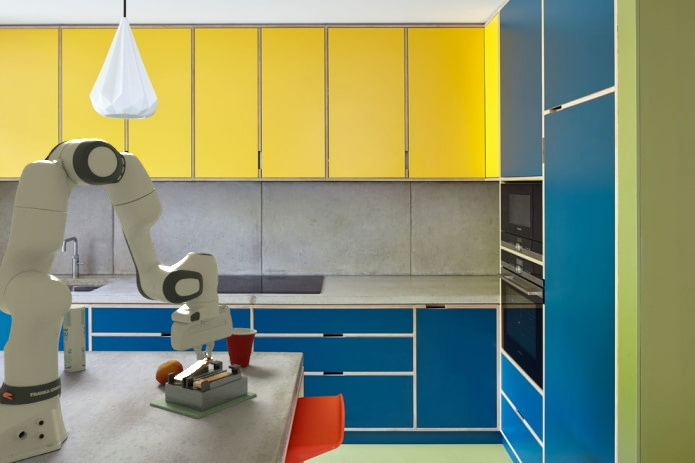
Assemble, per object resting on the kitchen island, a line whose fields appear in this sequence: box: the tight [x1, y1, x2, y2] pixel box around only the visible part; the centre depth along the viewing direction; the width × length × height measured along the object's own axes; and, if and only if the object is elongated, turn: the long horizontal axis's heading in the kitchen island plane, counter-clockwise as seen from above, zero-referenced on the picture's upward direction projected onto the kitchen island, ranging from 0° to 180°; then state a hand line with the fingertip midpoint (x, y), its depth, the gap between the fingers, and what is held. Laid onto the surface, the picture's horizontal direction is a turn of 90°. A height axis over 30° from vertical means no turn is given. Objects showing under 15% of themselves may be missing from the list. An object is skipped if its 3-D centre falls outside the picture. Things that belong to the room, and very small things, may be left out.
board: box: [149, 391, 257, 420], centre depth 176 cm, size 22×18×1 cm
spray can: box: [62, 304, 87, 373], centre depth 204 cm, size 6×6×20 cm
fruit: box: [155, 359, 184, 387], centre depth 190 cm, size 8×8×8 cm
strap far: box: [174, 357, 214, 383], centre depth 176 cm, size 12×3×1 cm, turn 146°
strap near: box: [193, 371, 233, 388], centre depth 173 cm, size 12×3×1 cm, turn 147°
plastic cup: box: [225, 327, 258, 369], centre depth 210 cm, size 11×11×12 cm
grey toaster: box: [164, 359, 249, 412], centre depth 176 cm, size 17×14×8 cm
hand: (204, 358), depth 179 cm, fingers closed
